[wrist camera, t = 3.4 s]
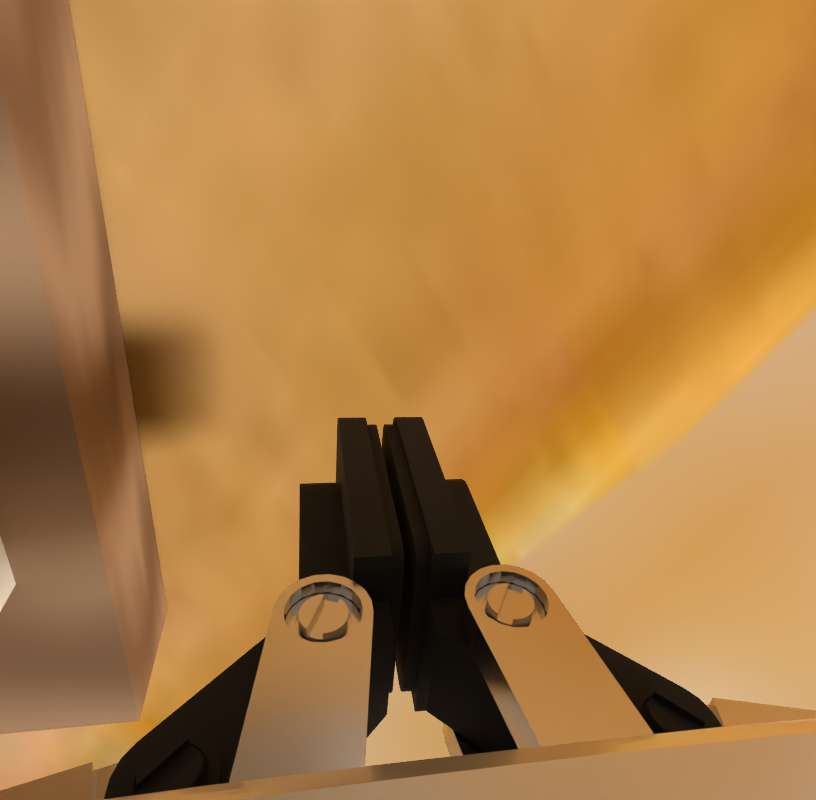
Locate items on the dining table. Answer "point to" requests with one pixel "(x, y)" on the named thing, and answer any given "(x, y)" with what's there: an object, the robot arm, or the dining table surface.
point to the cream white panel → (5, 577)
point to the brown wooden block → (65, 409)
